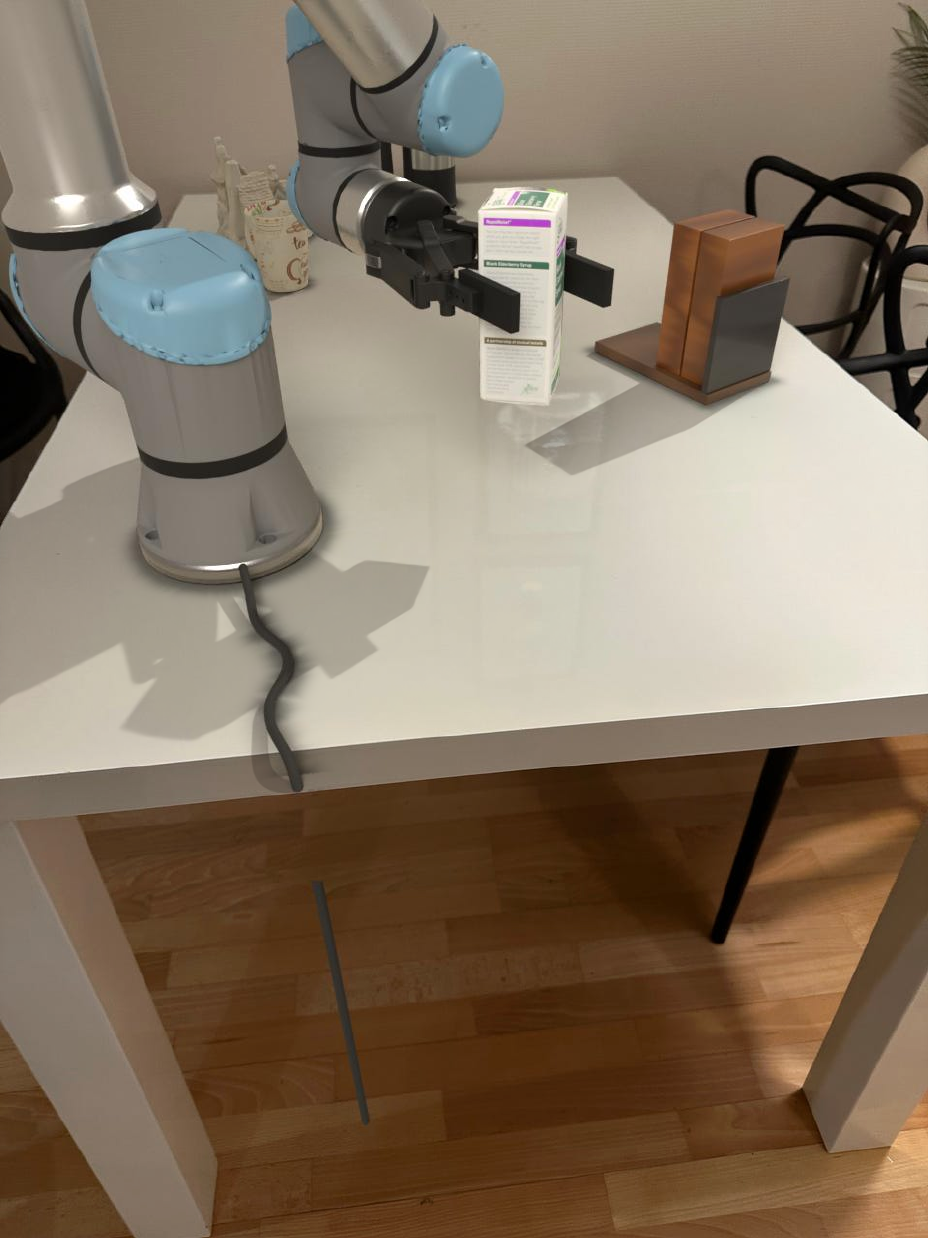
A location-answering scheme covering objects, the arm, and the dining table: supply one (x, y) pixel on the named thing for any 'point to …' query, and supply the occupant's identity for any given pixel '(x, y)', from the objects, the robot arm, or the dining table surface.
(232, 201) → the ceramic cottage
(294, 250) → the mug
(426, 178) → the milk frother
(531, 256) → the syrup box
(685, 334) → the wooden bookend
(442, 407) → the dining table surface
